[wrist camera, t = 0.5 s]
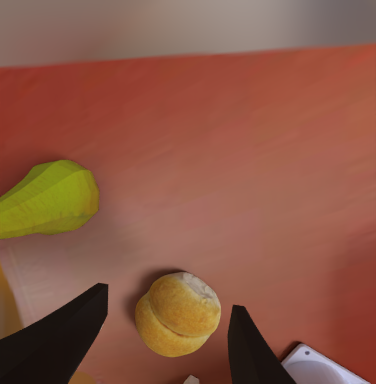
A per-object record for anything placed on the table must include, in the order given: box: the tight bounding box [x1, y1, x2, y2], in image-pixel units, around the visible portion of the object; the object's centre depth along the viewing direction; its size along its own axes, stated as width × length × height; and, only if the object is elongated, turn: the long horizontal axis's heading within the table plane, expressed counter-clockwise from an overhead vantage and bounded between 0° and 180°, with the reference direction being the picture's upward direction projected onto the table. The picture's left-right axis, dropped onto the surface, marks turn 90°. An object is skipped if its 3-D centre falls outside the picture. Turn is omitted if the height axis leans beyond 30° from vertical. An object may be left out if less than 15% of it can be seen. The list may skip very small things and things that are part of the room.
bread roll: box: [135, 272, 221, 357], centre depth 21 cm, size 8×9×4 cm
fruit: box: [0, 160, 99, 239], centre depth 15 cm, size 6×6×12 cm
